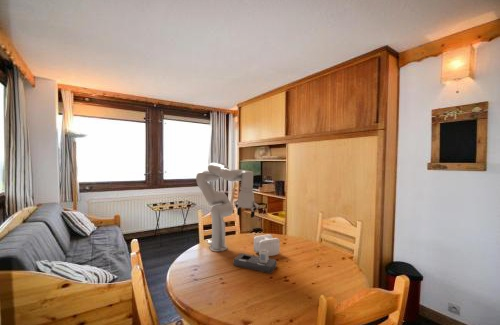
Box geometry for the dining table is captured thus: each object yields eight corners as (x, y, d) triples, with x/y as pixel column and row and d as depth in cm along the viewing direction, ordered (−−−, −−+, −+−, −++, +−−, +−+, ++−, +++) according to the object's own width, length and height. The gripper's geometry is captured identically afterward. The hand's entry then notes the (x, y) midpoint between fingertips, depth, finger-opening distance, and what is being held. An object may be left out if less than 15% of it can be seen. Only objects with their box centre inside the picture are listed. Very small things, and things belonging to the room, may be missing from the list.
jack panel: (233, 265, 141) (233, 258, 141) (241, 259, 150) (241, 252, 150) (270, 273, 131) (270, 266, 131) (276, 266, 140) (276, 259, 140)
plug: (259, 269, 136) (259, 251, 136) (262, 265, 141) (262, 248, 141) (265, 270, 135) (265, 252, 135) (268, 267, 139) (268, 249, 139)
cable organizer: (272, 249, 167) (272, 233, 167) (280, 255, 157) (280, 238, 157) (253, 253, 160) (253, 236, 160) (260, 258, 151) (260, 241, 151)
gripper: (232, 189, 150) (231, 215, 151) (256, 192, 143) (255, 219, 143) (237, 187, 157) (236, 212, 157) (261, 190, 149) (260, 216, 150)
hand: (245, 216), depth 150 cm, fingers open, 9 cm apart
